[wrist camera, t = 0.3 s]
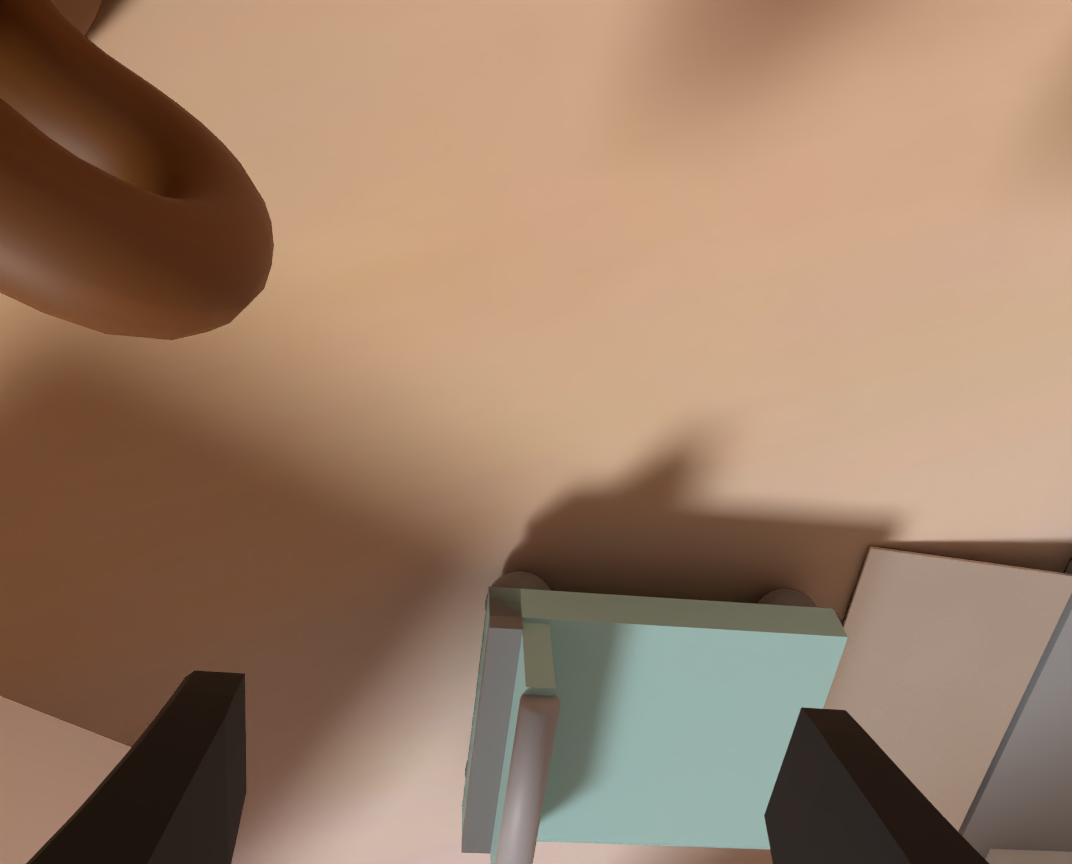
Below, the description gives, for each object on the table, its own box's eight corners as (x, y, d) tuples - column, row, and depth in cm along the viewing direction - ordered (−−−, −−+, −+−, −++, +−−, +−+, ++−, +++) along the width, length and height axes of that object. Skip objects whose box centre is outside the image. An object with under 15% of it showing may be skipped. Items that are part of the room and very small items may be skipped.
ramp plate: (954, 832, 27) (956, 835, 27) (779, 808, 27) (780, 811, 27) (1077, 574, 23) (1079, 577, 23) (869, 546, 23) (870, 548, 23)
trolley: (751, 781, 26) (804, 945, 22) (462, 768, 26) (460, 937, 21) (816, 577, 23) (893, 723, 19) (488, 554, 22) (491, 703, 18)
